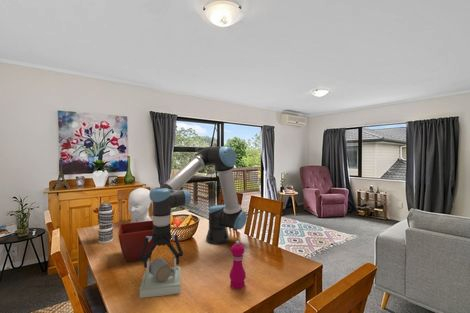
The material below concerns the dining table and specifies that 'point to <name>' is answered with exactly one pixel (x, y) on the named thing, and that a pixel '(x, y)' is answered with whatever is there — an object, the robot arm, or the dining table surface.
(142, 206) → the head sculpture
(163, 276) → the ceramic mug
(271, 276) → the dining table surface
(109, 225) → the decorative candle
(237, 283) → the pepper mill
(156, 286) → the display plinth
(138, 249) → the plant pot
